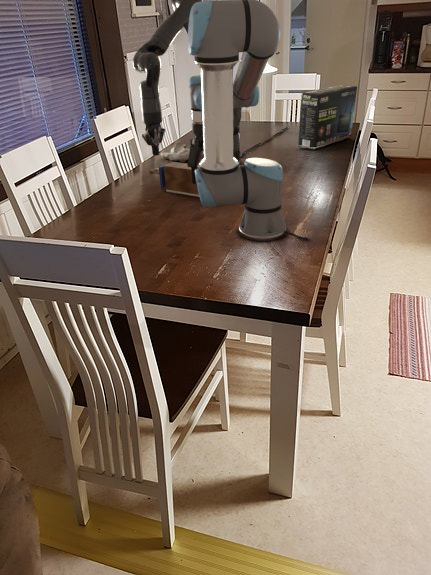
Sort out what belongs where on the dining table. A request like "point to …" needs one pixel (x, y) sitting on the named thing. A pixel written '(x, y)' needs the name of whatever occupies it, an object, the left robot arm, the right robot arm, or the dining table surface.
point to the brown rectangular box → (180, 179)
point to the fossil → (177, 153)
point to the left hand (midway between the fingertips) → (156, 155)
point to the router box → (326, 115)
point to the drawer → (162, 175)
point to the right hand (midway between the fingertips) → (204, 178)
